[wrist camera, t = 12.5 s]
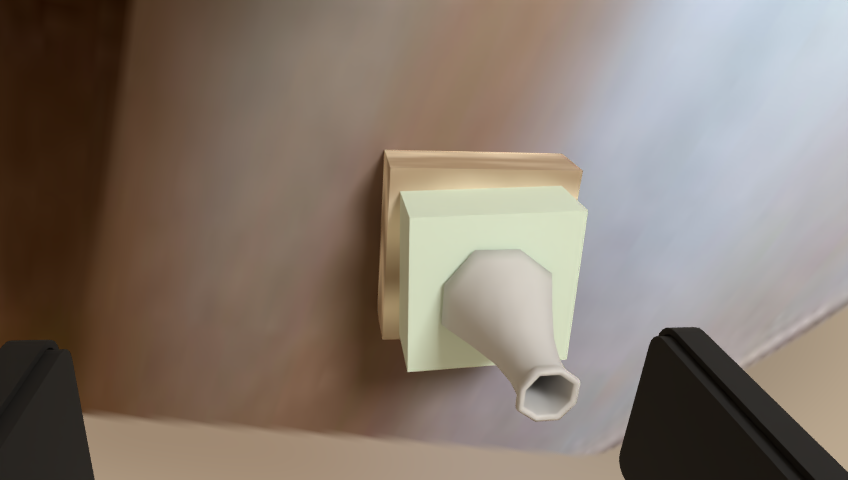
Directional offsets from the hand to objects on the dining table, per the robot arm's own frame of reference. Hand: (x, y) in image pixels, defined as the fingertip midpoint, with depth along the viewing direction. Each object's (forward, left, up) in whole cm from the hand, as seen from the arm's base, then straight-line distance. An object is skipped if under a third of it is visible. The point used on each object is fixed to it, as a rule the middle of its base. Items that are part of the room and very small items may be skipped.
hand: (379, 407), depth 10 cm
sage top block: (+12, +10, -29) cm, 33 cm away
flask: (+12, +10, -25) cm, 30 cm away
